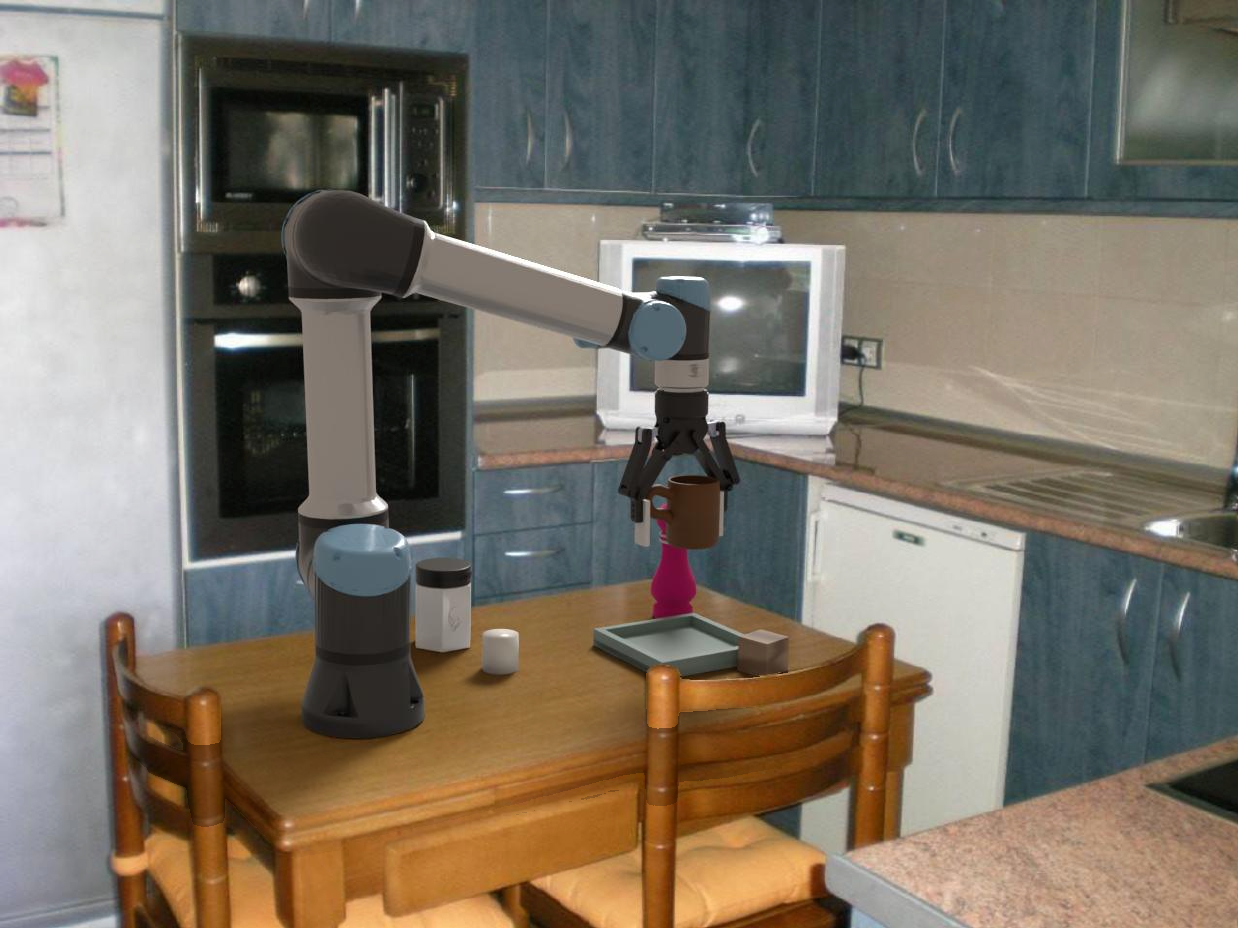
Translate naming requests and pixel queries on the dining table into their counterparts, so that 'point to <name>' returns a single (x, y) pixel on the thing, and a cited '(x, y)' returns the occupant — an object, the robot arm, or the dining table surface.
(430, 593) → the jar
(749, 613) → the dining table surface
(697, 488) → the mug
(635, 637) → the tray
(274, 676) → the dining table surface
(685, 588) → the pepper mill
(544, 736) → the dining table surface
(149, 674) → the dining table surface
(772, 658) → the block
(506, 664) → the white rounded cylinder
